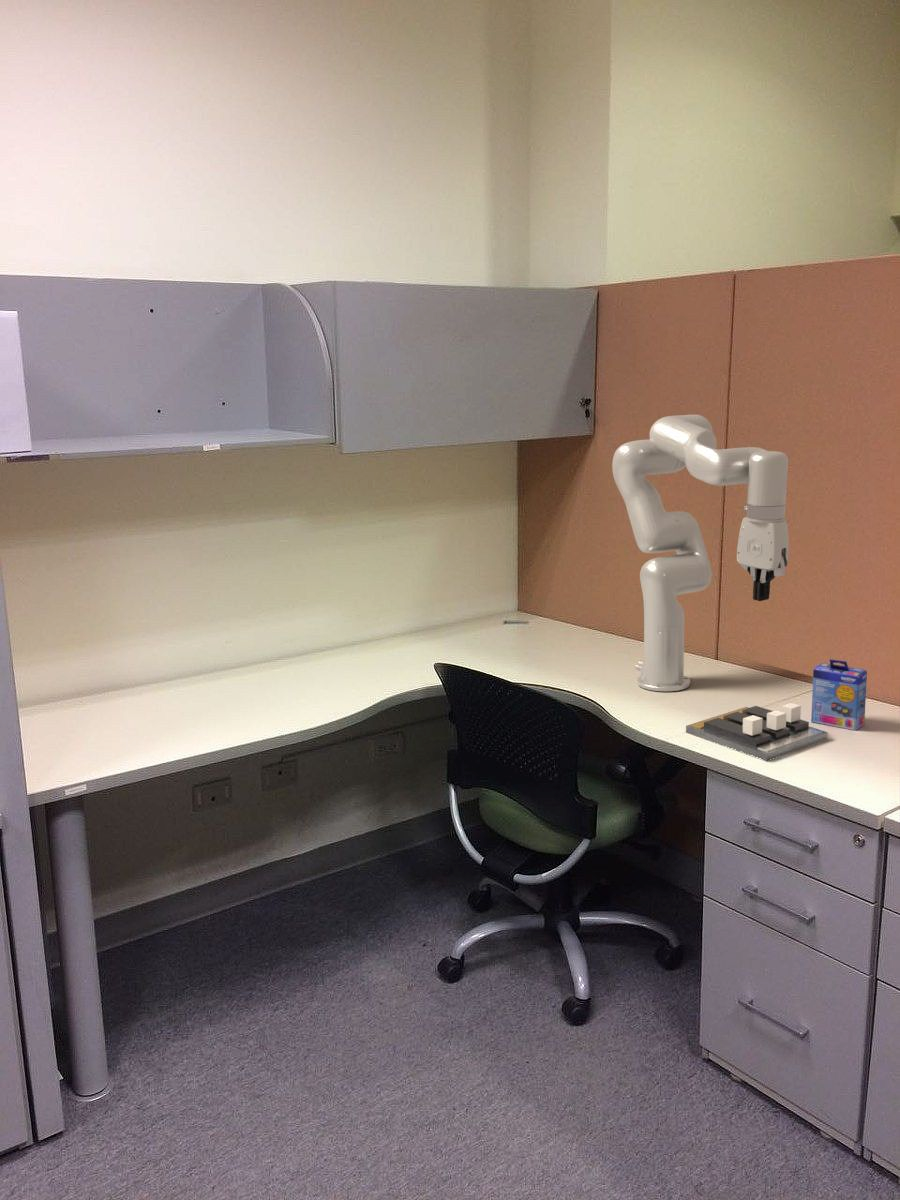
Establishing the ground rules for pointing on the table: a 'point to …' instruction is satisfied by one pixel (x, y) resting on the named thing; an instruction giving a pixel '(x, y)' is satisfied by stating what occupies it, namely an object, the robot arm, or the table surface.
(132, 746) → the table surface
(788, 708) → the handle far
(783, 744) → the panel
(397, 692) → the table surface
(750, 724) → the cream upright box
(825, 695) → the ink cartridge box
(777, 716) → the matte ivory cube
